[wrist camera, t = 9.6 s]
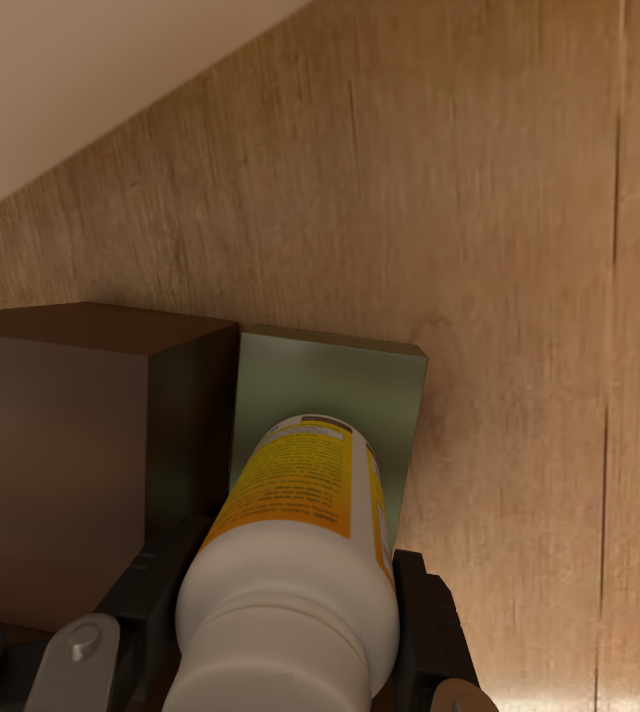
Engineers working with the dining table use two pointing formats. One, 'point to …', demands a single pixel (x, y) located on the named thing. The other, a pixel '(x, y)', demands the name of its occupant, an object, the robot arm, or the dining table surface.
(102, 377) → the shelf
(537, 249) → the dining table surface
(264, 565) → the supplement bottle
